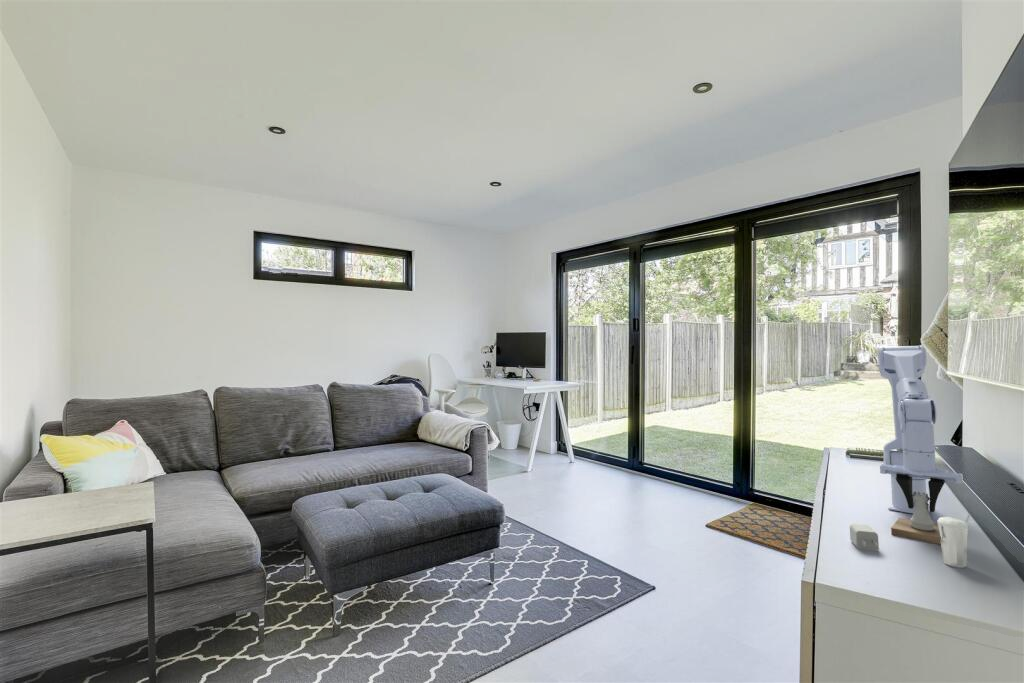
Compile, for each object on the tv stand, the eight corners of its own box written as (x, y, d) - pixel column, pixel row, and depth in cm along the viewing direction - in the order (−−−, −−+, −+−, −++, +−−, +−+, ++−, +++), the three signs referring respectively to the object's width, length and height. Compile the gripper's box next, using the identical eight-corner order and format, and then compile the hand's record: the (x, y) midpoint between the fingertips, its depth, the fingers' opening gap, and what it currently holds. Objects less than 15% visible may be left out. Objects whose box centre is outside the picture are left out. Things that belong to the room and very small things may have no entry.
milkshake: (981, 570, 91) (978, 518, 92) (949, 568, 92) (946, 516, 93) (964, 560, 96) (961, 510, 96) (933, 559, 97) (931, 509, 97)
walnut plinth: (899, 523, 117) (899, 517, 117) (954, 534, 110) (954, 527, 110) (891, 534, 110) (891, 527, 110) (949, 546, 103) (949, 539, 103)
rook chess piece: (904, 525, 112) (902, 491, 112) (920, 524, 112) (919, 490, 113) (923, 532, 107) (921, 496, 107) (940, 530, 108) (938, 495, 108)
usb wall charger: (871, 543, 105) (870, 525, 105) (883, 556, 99) (882, 536, 99) (850, 541, 107) (849, 523, 107) (860, 553, 100) (859, 534, 100)
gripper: (876, 448, 113) (879, 506, 113) (959, 457, 103) (962, 520, 102) (882, 444, 118) (885, 500, 118) (962, 452, 107) (965, 513, 107)
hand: (921, 509), depth 110 cm, fingers closed on rook chess piece, 3 cm apart
